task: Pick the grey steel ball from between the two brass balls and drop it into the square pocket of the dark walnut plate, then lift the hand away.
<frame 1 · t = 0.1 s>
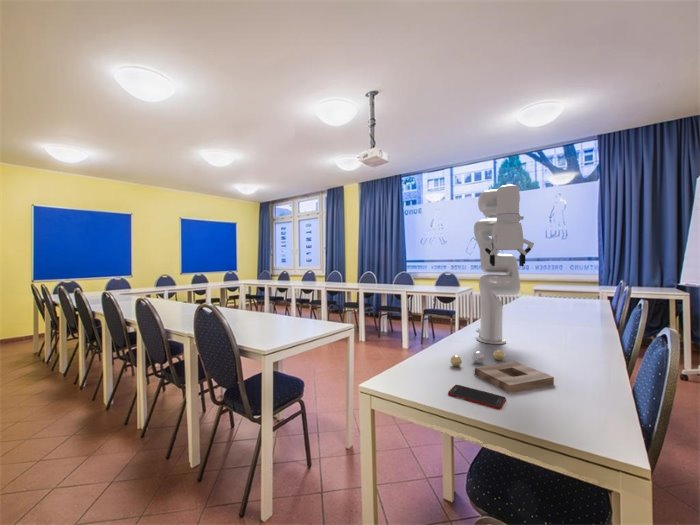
hand: (507, 265, 114), 37 cm above the table, fingers open, 9 cm apart
pocket plate: (512, 379, 102), on the table
steel ball: (478, 357, 117), point 2 cm above the table
brass ball 2: (498, 355, 121), point 2 cm above the table
brass ball 1: (456, 361, 114), point 2 cm above the table
cell phone: (476, 398, 90), on the table
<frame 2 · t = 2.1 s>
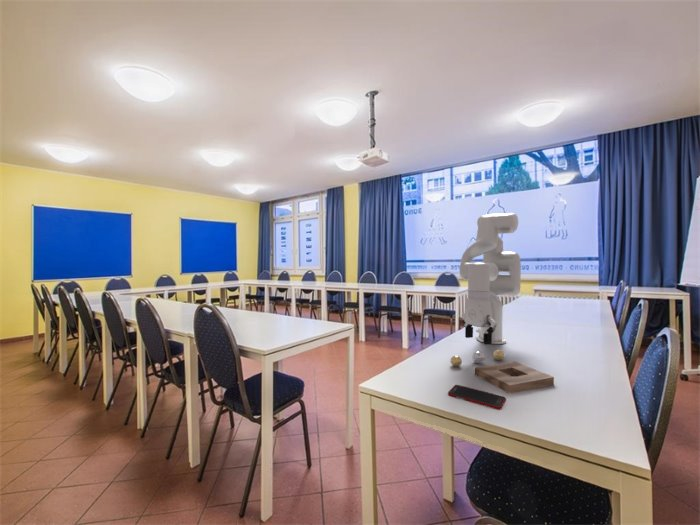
hand: (477, 340, 117), 9 cm above the table, fingers open, 9 cm apart
nothing on the table moved.
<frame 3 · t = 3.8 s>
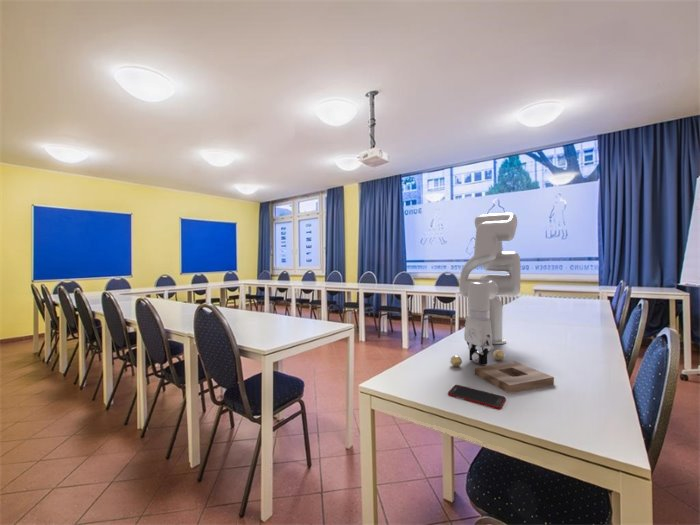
hand: (478, 361, 117), 1 cm above the table, fingers closed on steel ball, 4 cm apart
steel ball: (478, 357, 117), point 2 cm above the table, touching gripper
everything else where it was.
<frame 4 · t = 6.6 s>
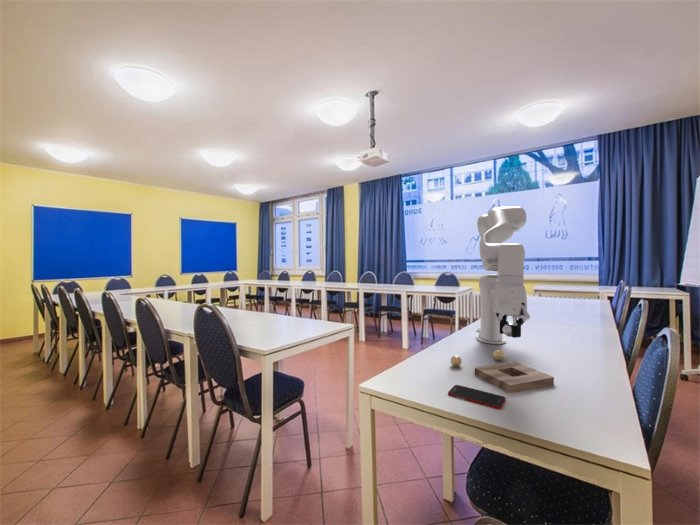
hand: (510, 334, 103), 15 cm above the table, fingers closed on steel ball, 4 cm apart
steel ball: (509, 329, 103), point 16 cm above the table, touching gripper
everything else where it was.
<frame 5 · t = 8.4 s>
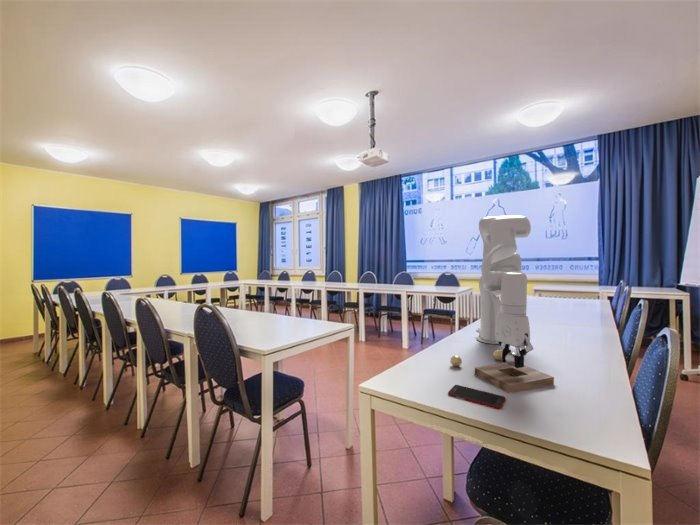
hand: (512, 364, 102), 5 cm above the table, fingers closed on steel ball, 4 cm apart
steel ball: (512, 359, 102), point 7 cm above the table, touching gripper
everything else where it was.
when the fingers open (4 cm above the table, at t = 9.5 s): steel ball drops 3 cm, point 2 cm above the table.
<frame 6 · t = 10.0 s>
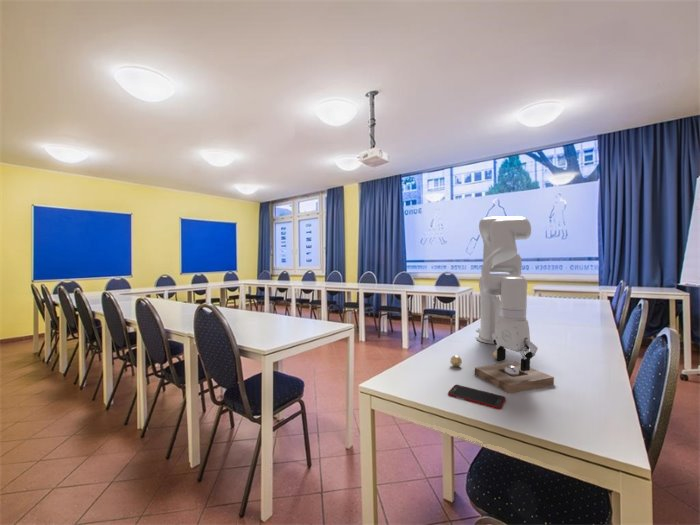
hand: (512, 365, 102), 5 cm above the table, fingers open, 9 cm apart
steel ball: (511, 372, 103), point 2 cm above the table, tilted 7°
everything else where it was.
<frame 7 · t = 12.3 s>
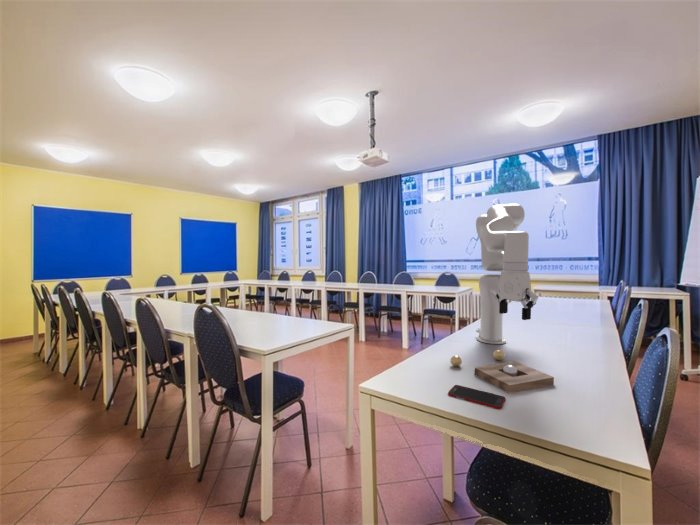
hand: (514, 316, 107), 20 cm above the table, fingers open, 9 cm apart
steel ball: (510, 371, 103), point 2 cm above the table, tilted 26°
everything else where it was.
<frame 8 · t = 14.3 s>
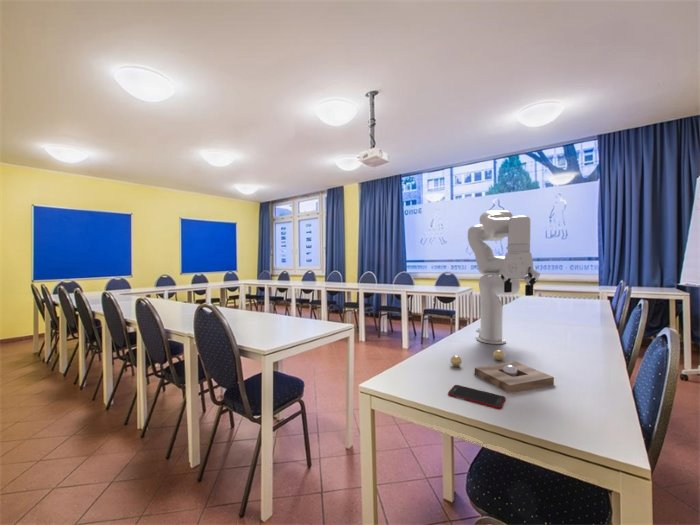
hand: (518, 293, 118), 26 cm above the table, fingers open, 9 cm apart
nothing on the table moved.
at the end: steel ball 1.0 cm off-centre on the pocket plate, point 2.2 cm above the pocket plate's base; brass ball 2 moved 0.0 cm from its start; brass ball 1 moved 0.0 cm from its start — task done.
